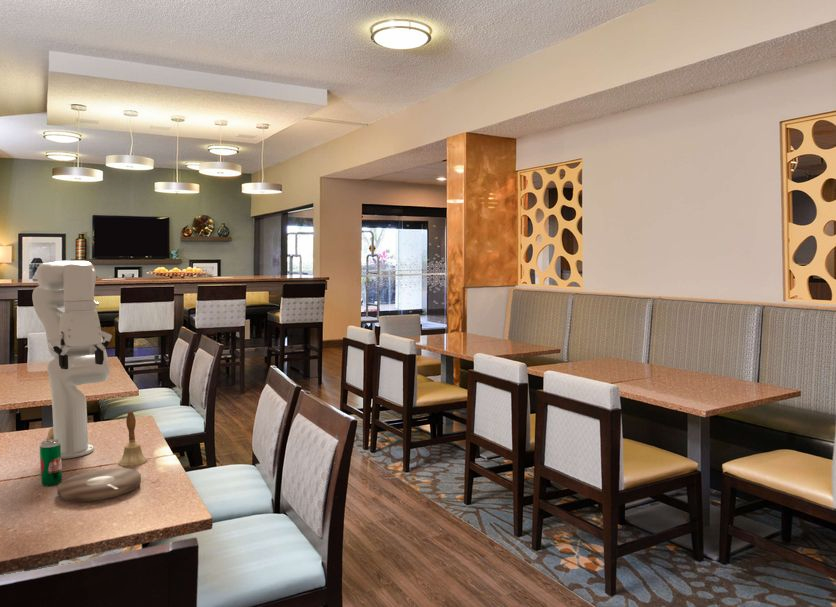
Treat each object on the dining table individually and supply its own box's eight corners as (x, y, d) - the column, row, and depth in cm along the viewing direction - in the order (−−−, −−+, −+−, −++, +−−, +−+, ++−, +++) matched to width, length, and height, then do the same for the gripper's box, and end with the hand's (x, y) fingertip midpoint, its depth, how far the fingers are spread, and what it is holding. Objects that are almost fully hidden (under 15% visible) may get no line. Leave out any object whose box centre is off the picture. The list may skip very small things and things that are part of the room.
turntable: (44, 488, 161) (44, 483, 161) (119, 468, 177) (119, 463, 177) (77, 507, 149) (77, 501, 149) (155, 484, 165) (154, 478, 165)
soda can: (51, 487, 165) (49, 444, 164) (36, 485, 166) (34, 443, 166) (66, 481, 170) (64, 439, 169) (52, 479, 171) (50, 438, 170)
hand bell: (136, 467, 181) (134, 415, 180) (111, 465, 183) (110, 413, 182) (153, 458, 190) (151, 408, 188) (130, 456, 191) (128, 407, 190)
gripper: (103, 305, 181) (105, 361, 182) (40, 308, 167) (43, 369, 168) (116, 305, 177) (118, 363, 178) (53, 309, 162) (56, 372, 163)
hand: (82, 366), depth 173 cm, fingers open, 9 cm apart
